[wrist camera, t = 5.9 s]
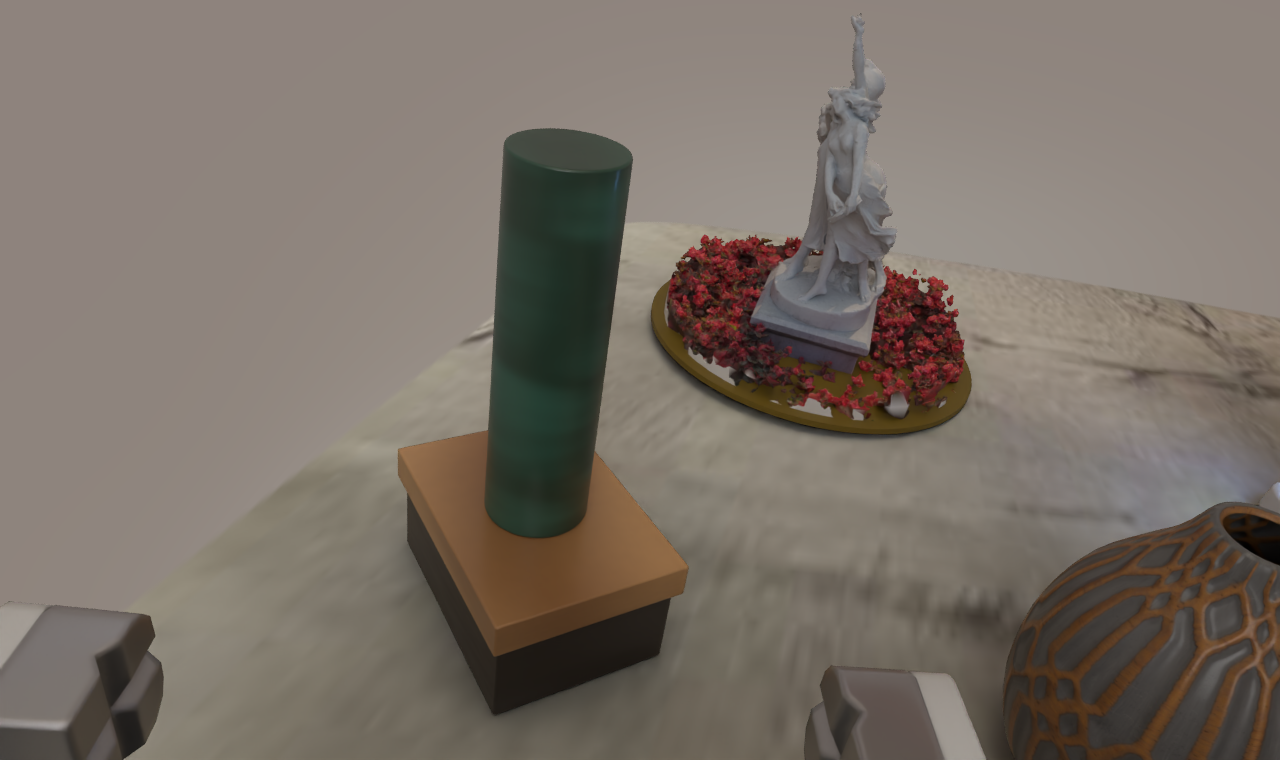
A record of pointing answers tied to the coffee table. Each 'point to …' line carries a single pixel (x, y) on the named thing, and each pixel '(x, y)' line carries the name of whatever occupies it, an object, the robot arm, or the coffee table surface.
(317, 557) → the coffee table surface
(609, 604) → the green pillar on base
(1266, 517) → the vase
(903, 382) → the figurine
